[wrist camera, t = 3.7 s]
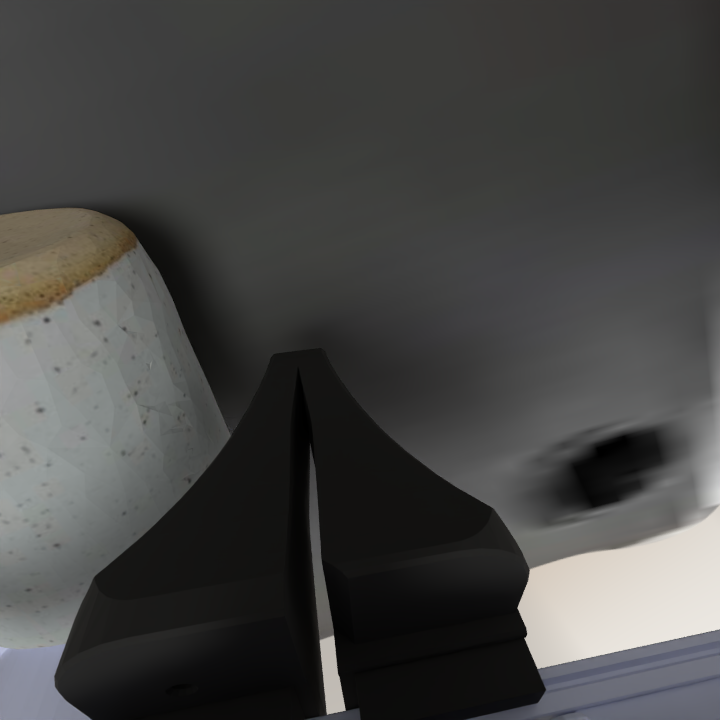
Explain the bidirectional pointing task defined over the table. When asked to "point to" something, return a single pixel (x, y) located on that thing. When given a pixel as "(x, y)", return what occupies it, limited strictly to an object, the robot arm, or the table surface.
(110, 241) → the ceramic mug
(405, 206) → the table surface
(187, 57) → the table surface
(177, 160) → the table surface
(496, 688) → the robot arm
